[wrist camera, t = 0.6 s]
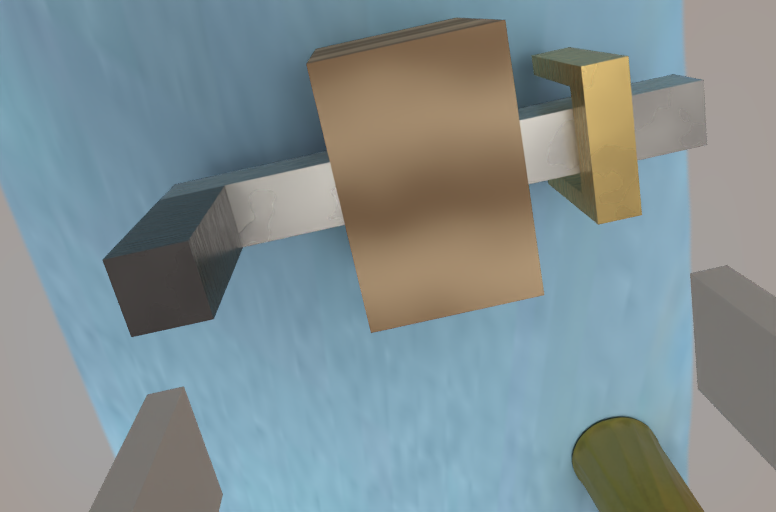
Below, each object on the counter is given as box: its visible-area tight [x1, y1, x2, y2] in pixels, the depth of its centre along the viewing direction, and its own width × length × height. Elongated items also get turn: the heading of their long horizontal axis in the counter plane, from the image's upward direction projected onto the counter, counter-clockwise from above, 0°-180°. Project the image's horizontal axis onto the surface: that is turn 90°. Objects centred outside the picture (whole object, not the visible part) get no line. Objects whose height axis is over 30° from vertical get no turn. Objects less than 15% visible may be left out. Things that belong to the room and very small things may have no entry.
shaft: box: [103, 74, 707, 337], centre depth 29 cm, size 3×25×11 cm, turn 102°
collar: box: [532, 47, 642, 224], centre depth 33 cm, size 7×2×8 cm, turn 12°
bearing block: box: [306, 18, 544, 333], centre depth 35 cm, size 12×8×12 cm, turn 12°
